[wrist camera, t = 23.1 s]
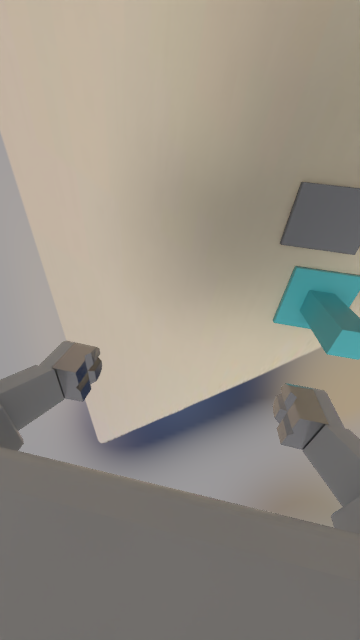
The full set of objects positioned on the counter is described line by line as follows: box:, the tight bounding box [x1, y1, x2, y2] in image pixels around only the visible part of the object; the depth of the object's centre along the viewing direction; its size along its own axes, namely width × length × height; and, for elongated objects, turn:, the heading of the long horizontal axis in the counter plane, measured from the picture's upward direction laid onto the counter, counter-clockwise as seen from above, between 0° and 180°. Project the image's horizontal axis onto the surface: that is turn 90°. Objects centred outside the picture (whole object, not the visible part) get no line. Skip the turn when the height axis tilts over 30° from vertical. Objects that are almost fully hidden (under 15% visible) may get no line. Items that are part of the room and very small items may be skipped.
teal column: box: [300, 290, 360, 359], centre depth 35 cm, size 4×4×13 cm
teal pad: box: [273, 266, 360, 329], centre depth 41 cm, size 12×12×1 cm
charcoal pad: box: [280, 182, 360, 255], centre depth 33 cm, size 9×12×1 cm
